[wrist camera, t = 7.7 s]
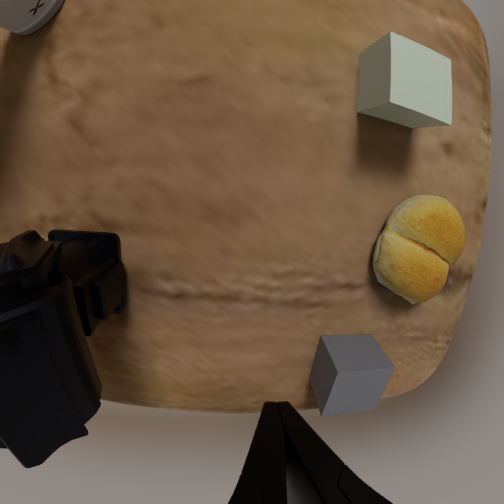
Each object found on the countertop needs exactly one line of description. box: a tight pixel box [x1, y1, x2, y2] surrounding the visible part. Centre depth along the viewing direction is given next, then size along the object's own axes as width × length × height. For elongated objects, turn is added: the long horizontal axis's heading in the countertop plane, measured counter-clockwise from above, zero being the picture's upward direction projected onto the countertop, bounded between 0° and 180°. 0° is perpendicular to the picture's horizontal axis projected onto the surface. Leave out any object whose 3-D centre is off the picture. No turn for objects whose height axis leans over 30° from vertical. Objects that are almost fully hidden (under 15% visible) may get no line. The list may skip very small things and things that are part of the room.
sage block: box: [357, 32, 452, 128], centre depth 15 cm, size 5×5×5 cm
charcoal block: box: [309, 334, 395, 416], centre depth 22 cm, size 5×5×5 cm
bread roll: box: [373, 195, 465, 304], centre depth 20 cm, size 8×9×4 cm
